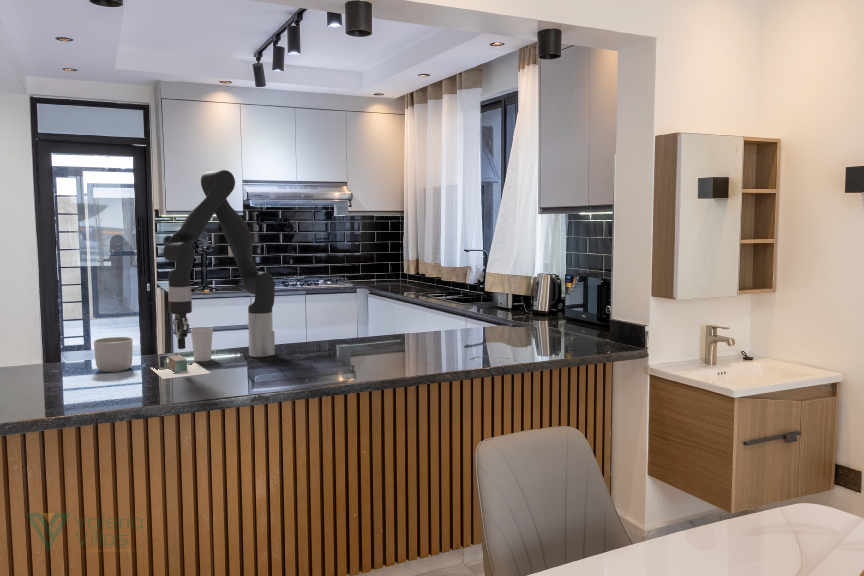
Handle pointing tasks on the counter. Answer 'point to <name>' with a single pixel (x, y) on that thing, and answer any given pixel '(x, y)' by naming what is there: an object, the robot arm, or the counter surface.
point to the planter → (113, 353)
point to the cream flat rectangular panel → (191, 370)
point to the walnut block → (177, 363)
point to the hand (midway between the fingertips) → (181, 348)
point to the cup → (202, 343)
